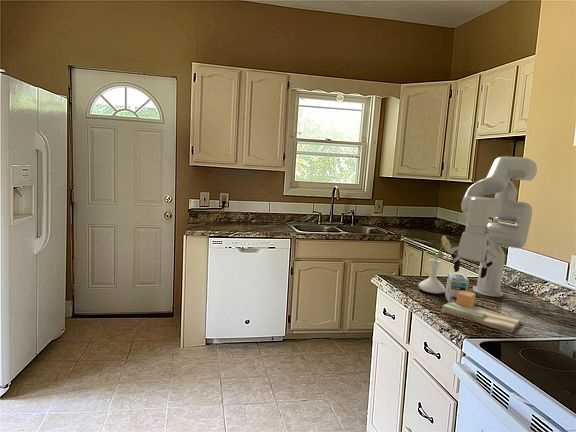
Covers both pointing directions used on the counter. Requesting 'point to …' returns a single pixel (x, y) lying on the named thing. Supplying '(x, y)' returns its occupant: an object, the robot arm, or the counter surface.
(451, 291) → the light bulb box
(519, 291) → the counter surface
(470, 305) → the stub
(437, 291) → the flower in vase
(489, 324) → the board
